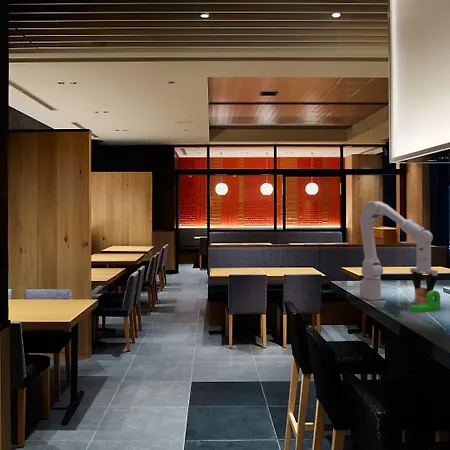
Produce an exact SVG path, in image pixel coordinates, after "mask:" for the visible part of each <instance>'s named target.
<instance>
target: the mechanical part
mask: <svg viewBox="0 0 450 450" xmlns="http://www.w3.org/2000/svg"><path fill="white" fill-rule="evenodd" d="M410 311H411V312H414V313H425V312H426V313H427V312H435V311H441V294H440V292H439V291H438V290H434V289H433V290H431V291H429V292H428V294H427V304H418V305H414V304H411V305H410Z"/></svg>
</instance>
